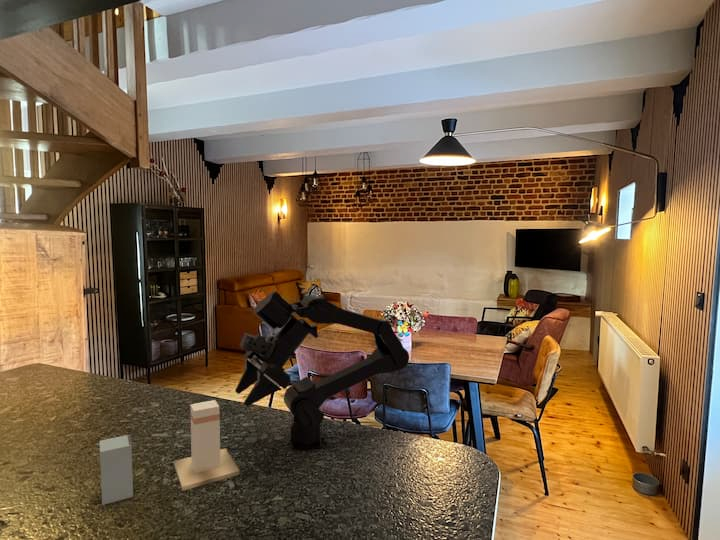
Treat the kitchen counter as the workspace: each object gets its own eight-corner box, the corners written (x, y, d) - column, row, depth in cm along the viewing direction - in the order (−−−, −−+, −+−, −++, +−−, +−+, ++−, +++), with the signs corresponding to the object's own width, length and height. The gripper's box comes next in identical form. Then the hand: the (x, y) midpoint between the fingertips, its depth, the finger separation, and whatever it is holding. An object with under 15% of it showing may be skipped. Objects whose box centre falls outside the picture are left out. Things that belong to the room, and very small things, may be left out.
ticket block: (131, 483, 85) (129, 433, 84) (133, 496, 81) (131, 444, 80) (101, 491, 82) (99, 439, 81) (102, 505, 78) (99, 451, 77)
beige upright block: (216, 458, 93) (215, 399, 92) (220, 466, 90) (219, 406, 89) (191, 464, 91) (190, 404, 90) (195, 473, 87) (193, 411, 86)
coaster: (225, 451, 98) (225, 448, 98) (239, 474, 88) (239, 470, 88) (173, 464, 92) (173, 461, 92) (182, 490, 83) (182, 486, 82)
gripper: (251, 314, 103) (205, 367, 99) (272, 325, 87) (219, 389, 82) (284, 342, 107) (242, 394, 103) (311, 357, 91) (262, 420, 86)
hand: (240, 398), depth 94 cm, fingers open, 9 cm apart
